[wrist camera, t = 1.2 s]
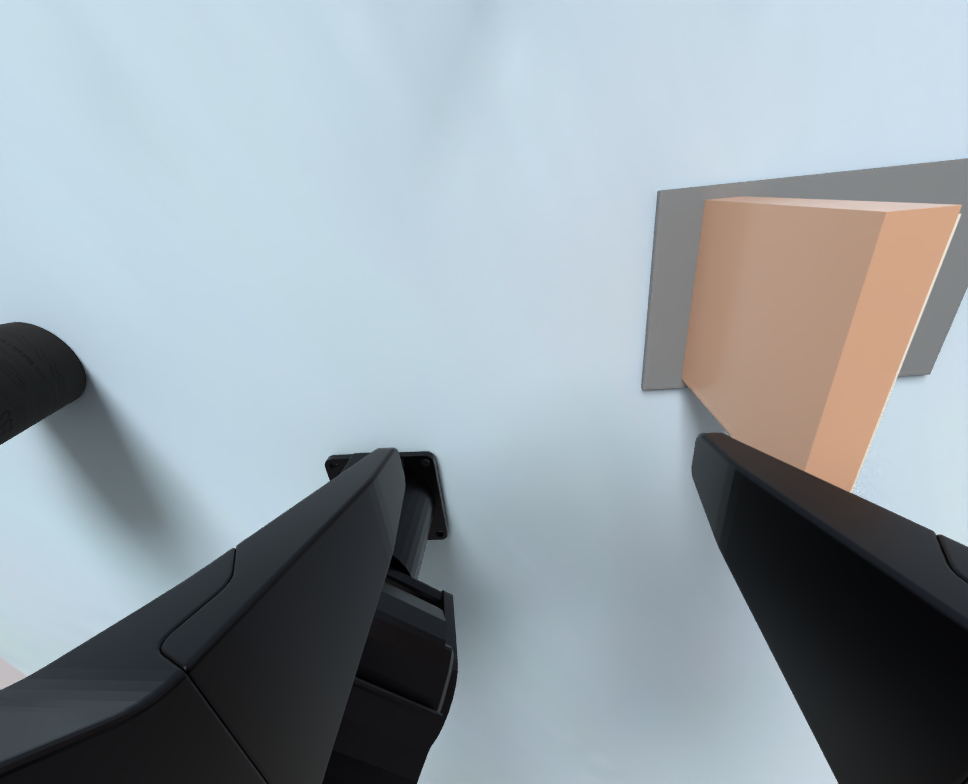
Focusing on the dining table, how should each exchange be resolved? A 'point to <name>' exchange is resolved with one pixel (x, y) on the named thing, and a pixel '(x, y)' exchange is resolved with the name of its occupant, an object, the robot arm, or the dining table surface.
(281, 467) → the dining table surface
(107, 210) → the dining table surface
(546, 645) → the dining table surface
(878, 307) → the tile
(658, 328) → the mat
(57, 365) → the drinking cup
